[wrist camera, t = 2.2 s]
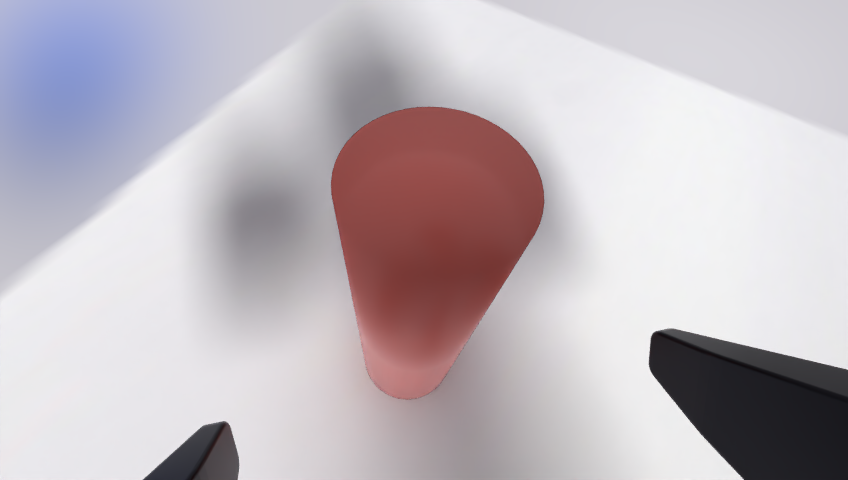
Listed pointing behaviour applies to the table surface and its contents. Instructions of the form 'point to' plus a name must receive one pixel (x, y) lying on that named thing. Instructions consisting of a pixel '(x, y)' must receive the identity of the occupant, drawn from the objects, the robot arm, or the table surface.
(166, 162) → the table surface
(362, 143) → the plug
